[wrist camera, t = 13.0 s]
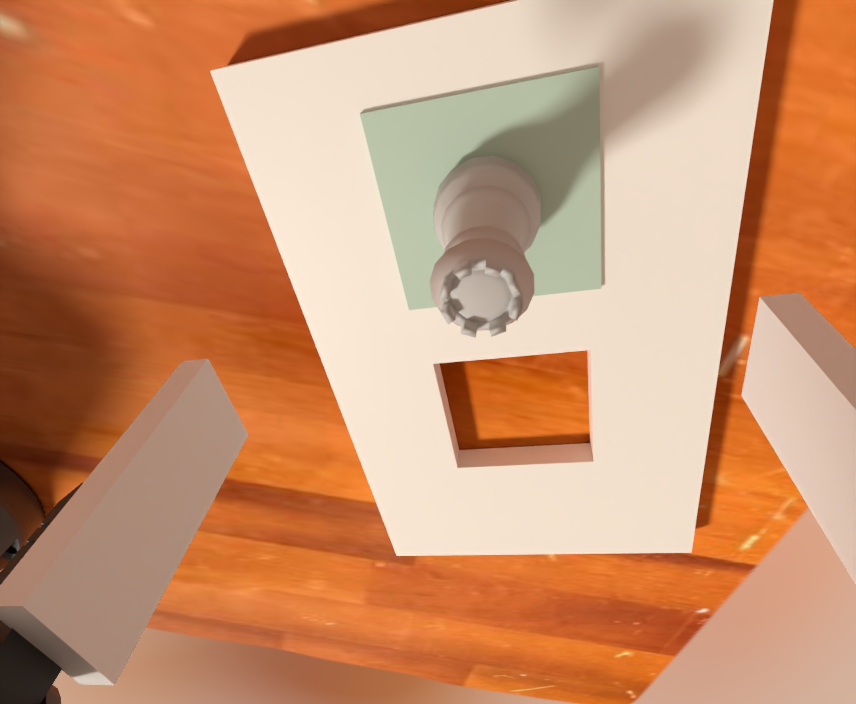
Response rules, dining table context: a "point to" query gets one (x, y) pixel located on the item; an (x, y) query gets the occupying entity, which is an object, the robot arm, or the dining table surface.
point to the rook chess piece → (485, 244)
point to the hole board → (547, 257)
